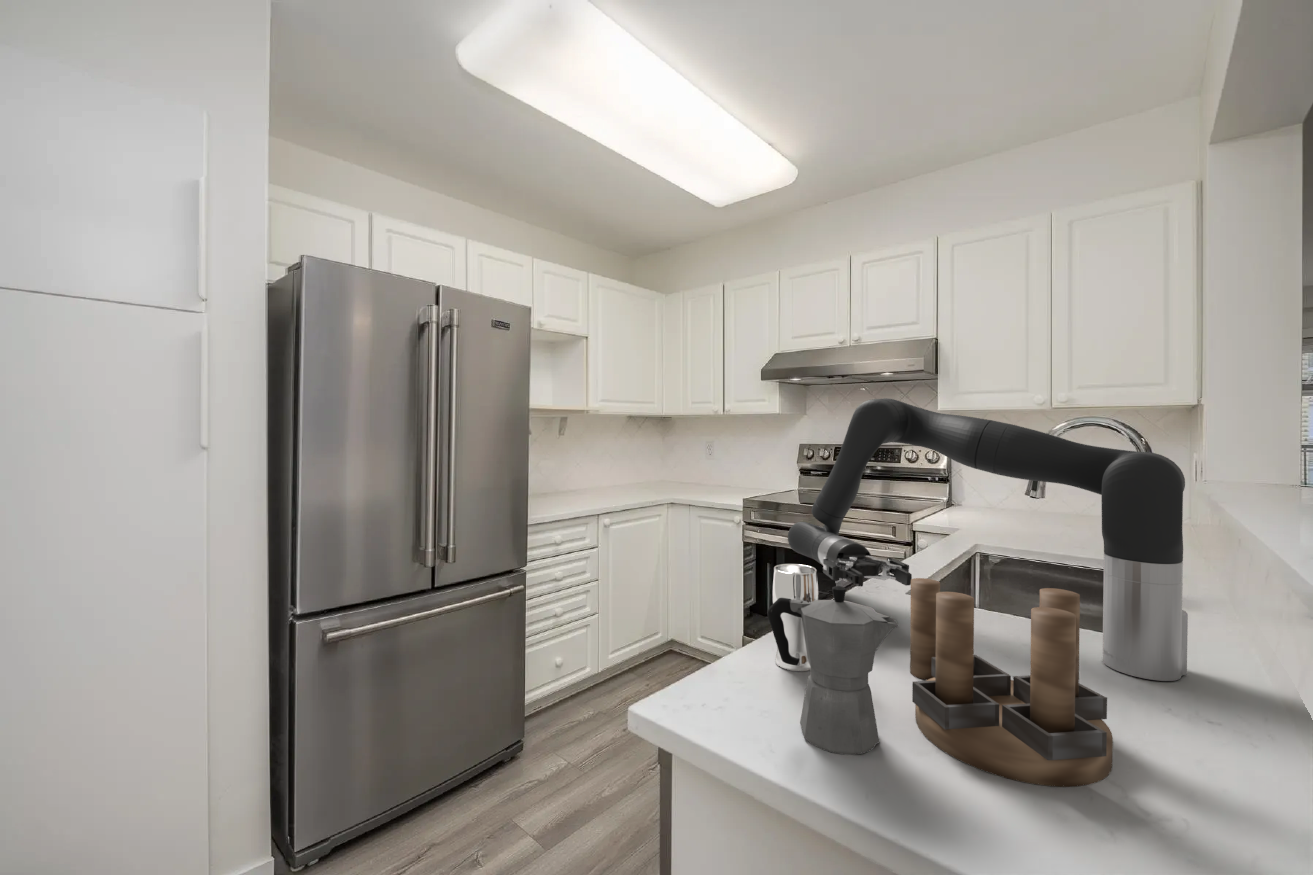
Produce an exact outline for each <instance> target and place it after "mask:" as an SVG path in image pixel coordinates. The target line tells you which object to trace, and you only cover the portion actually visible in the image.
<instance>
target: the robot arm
mask: <svg viewBox="0 0 1313 875" xmlns="http://www.w3.org/2000/svg"><path fill="white" fill-rule="evenodd" d="M888 443H895V444H896V443H898V444H905V445H911V446H916V447H921V448H926V449H929V450H932V451H933V452H934V451H935V452H937V453H939V454H940V455H943V456H944V457H946V458H948V459H950V460H952V461H954V462H957V463H959V464H960V465H963V466H965V467H969V468H972V469H974V470H975V469H976V470H979V471H982V472H986V473H991V474H994V475H998V476H1003V477H1007V478H1008V477H1009V478H1013V479H1018V480H1019V479H1020V480H1025V481H1033V482H1043V483H1052V484H1059V485H1066V486H1071V487H1075V488H1079V489H1082V490H1085V491H1089V492H1091V493H1094V494H1098V495H1100V496H1101V536H1102V541H1103V585H1102V586H1103V587H1102V588H1103V593H1102V594H1103V599H1102V601H1103V602H1102V605H1103V606H1102V609H1103V610H1102V615H1103V616H1102V662H1103V664H1104V665H1105V666H1107V667H1109V668H1110V669H1112V670H1114V671H1117V672H1120V673H1123V674H1126V675H1128V676H1132V677H1137V678H1141V679H1146V680H1151V681H1158V682H1159V681H1161V682H1172V681H1178V680H1180V679H1181V678H1182V676H1187V675H1188V634H1189V633H1188V632H1189V631H1188V627H1189V626H1188V625H1189V624H1188V623H1189V622H1188V621H1189V616H1188V612H1187V611H1186V610H1184V609H1183V578H1184V577H1183V566H1184V562H1183V561H1184V540H1183V539H1184V538H1183V536H1184V535H1183V522H1184V521H1183V516H1184V515H1183V514H1184V511H1183V510H1184V505H1183V504H1184V491H1185V489H1186V479H1185V475H1184V472H1183V471H1182V470H1181V468H1180V467H1179V466H1178V465H1177V463H1175V461H1173V460H1171V459H1170V458H1169V457H1167V456H1164V455H1162V454H1159V453H1155V452H1149V451H1135V450H1128V449H1127V450H1124V449H1117V448H1116V449H1115V448H1112V447H1111V448H1110V447H1102V446H1097V445H1089V444H1086V443H1085V444H1084V443H1081V442H1075V441H1072V440H1068V439H1066V438H1063V437H1060V436H1056V435H1052V434H1050V433H1047V432H1043V431H1039V430H1036V429H1032V428H1027V427H1023V426H1020V425H1017V424H1013V423H1012V424H1011V423H1007V422H1001V421H997V420H991V419H986V418H979V417H973V416H966V415H961V414H960V415H959V414H949V413H948V414H947V413H943V412H942V413H941V412H936V411H933V410H928V409H925V408H921V407H918V406H916V405H912V404H909V403H907V402H903V401H900V400H897V399H895V398H885V397H884V398H872V399H868V400H865V401H863V402H862V403H860V404H859V405H858V406H857V407H856V409H855V410H854V412H853V414H852V416H851V419H850V421H849V424H848V427H847V431H846V434H845V437H844V439H843V443H842V444H841V447H840V451H839V453H838V455H837V457H836V461H835V462H834V463H833V464H834V465H833V467H832V469H831V470H830V473H829V475H828V477H827V479H826V481H825V482H824V484H823V486H822V488H821V490H820V492H819V494H818V495H817V497H816V499H815V500H814V502H813V504H812V507H811V514H812V516H813V517H814V519H816V520H817V521H819V522H820V523H821V524H823V526H819V525H817V524H813V523H811V522H807V521H798V522H796V523H794V524H793V525H792V526H791V527H790V528H789V530H788V533H787V543H788V545H789V547H790V549H792V550H793V551H794V552H795V553H797V554H800V555H802V556H805V557H807V558H810V559H812V560H815V561H816V562H817V563H819V564H821V565H822V566H823V567H822V572H823V575H826V576H827V577H828V578H829V579H831V580H832V581H835V582H838V581H840V579H841V580H843V581H844V582H846V583H847V582H848V583H851V584H853V585H855V586H856V587H863V586H864V579H877V580H881V581H887V580H894V581H896V582H898V583H900V584H902V585H904V586H911V579H913V575H912V573H910V565H909V564H907V563H905V562H903V561H900V560H897V559H895V558H893V557H887V558H886V559H882V558H881V559H880V558H877V557H875V556H873V555H872V554H871V553H870V551H869V550H868V548H867V547H866V546H864V545H863V544H860V543H859V542H856V541H855V540H852V539H849V538H848V537H844V536H841V535H839V534H840V530H841V527H842V523H843V520H844V519H845V517H846V516H847V513H848V512H849V510H850V509H851V507H852V505H853V503H854V501H855V500H856V498H857V494H858V493H859V489H860V485H861V481H862V477H863V474H864V471H865V469H866V467H867V465H868V463H869V461H870V460H871V459H872V457H873V456H874V454H875V453H876V452H877V451H878V449H879V448H881V446H882V445H884V444H888ZM881 571H882V574H880V573H881Z"/></svg>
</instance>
